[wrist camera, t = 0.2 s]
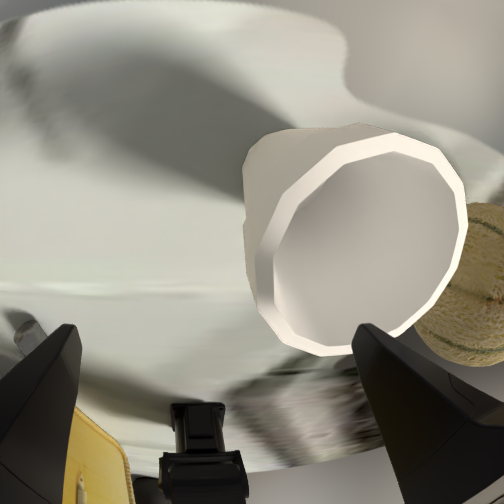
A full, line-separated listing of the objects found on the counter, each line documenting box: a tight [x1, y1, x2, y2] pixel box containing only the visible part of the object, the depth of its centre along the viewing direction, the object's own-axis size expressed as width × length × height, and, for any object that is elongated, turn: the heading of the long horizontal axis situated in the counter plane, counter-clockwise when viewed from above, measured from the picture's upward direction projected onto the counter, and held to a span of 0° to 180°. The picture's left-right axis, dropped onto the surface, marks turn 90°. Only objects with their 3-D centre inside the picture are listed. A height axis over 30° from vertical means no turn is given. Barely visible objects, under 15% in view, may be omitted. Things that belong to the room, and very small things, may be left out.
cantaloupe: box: [413, 202, 504, 367], centre depth 22 cm, size 15×15×15 cm
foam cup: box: [242, 123, 468, 356], centre depth 16 cm, size 10×9×13 cm
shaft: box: [14, 321, 47, 356], centre depth 24 cm, size 6×4×4 cm
